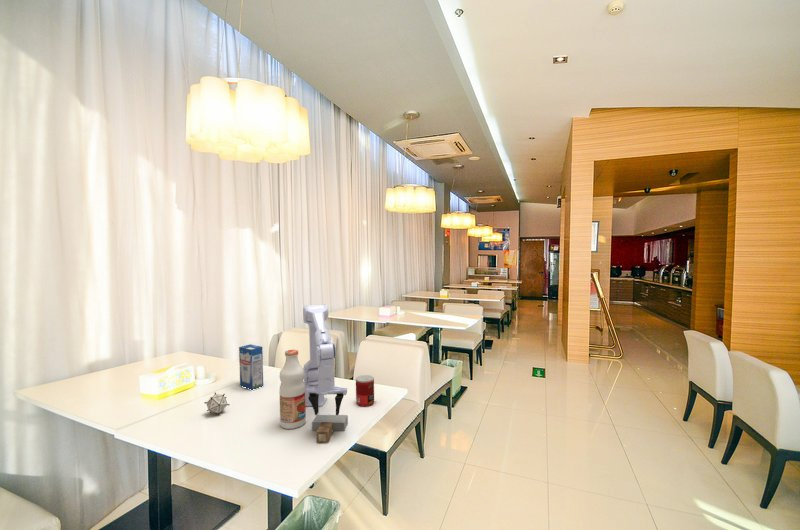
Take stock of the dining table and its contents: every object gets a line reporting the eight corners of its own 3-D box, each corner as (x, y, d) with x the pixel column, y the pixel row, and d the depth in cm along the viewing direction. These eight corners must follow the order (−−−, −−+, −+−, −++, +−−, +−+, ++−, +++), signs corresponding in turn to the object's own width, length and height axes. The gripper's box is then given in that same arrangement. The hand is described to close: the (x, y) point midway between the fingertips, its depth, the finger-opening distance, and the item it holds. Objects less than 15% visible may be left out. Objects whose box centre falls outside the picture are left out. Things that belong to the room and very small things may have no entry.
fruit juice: (281, 419, 134) (280, 348, 134) (306, 416, 136) (304, 347, 136) (278, 431, 125) (277, 355, 125) (305, 427, 127) (303, 353, 127)
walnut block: (321, 432, 124) (316, 443, 117) (321, 422, 124) (316, 432, 117) (332, 432, 124) (328, 443, 117) (332, 422, 124) (327, 432, 116)
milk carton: (263, 386, 170) (262, 346, 169) (252, 390, 164) (251, 349, 164) (251, 382, 175) (250, 344, 175) (240, 386, 170) (238, 347, 169)
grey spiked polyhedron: (223, 420, 142) (238, 400, 143) (206, 422, 134) (222, 400, 135) (212, 406, 146) (226, 386, 147) (195, 407, 138) (211, 386, 139)
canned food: (371, 407, 144) (371, 381, 144) (353, 406, 145) (353, 380, 145) (376, 400, 151) (376, 375, 151) (359, 398, 153) (358, 374, 153)
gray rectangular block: (312, 430, 125) (312, 422, 125) (317, 422, 131) (316, 414, 131) (344, 430, 125) (344, 422, 125) (347, 422, 131) (347, 415, 131)
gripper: (303, 380, 120) (303, 418, 120) (343, 380, 119) (344, 419, 120) (309, 373, 127) (310, 409, 127) (347, 373, 126) (348, 410, 127)
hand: (327, 413), depth 124 cm, fingers open, 7 cm apart
